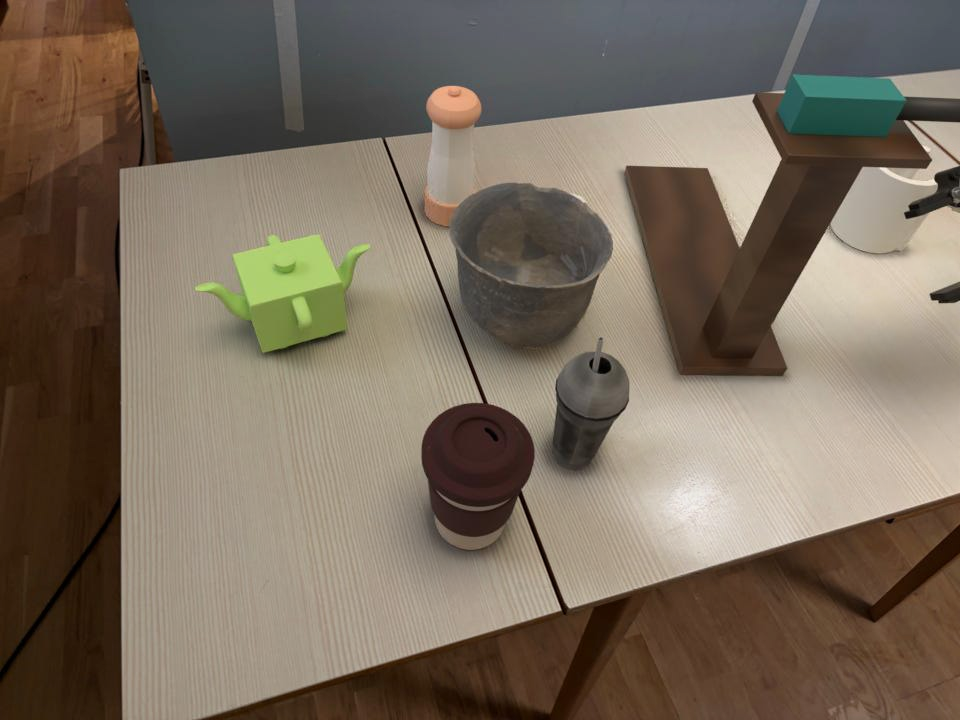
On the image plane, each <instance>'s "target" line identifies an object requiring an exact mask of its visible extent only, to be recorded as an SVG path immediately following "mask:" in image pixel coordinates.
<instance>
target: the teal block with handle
mask: <svg viewBox="0 0 960 720" xmlns="http://www.w3.org/2000/svg"><path fill="white" fill-rule="evenodd" d="M777 113H778V115H779V116H780V118H781V120H782V122H783V124H784V126H785V127H786V129H787V131H788V133H789V134H815V135H843V136H871V137H886V135H887V134H888V132H889V130H890V129H891V127H892V125H893V123H894V122H895V120H904V122H907V121H908V122H933V123H935V122H936V123H959V124H960V98H954V97H953V98H951V97H931V96H930V97H927V96H904V95H903V94H902V92H901V91H900V90H899V88H898V87H897V85H895V83H894V82H893V81H892V79H891V78H890V77H889V78H888V77H887V78H885V77H866V76H865V77H862V76H860V77H859V76H842V75H841V76H840V75H839V76H838V75H815V74H814V75H813V74H795V73H793V74H792V75H791V77H790V79H789V82H788V84H787V85H786V88H785V91H784V95H783V98H782V100H781V102H780V104H779V107H778V109H777Z"/></svg>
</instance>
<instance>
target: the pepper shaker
mask: <svg viewBox="0 0 960 720" xmlns="http://www.w3.org/2000/svg"><path fill="white" fill-rule="evenodd" d="M425 106H426V108H425V110H426V113H427V115H428V117H429V119H430V121H431V122H432V123H431V124H432V127H431V147H430V151H429V157H428V162H427V169H426V172H427V173H426V175H427V176H426V177H427V178H426V180H427V184H426V185H425V188H424V213H425V216H426V217H427V218H428V219H429V220H430V221H431V222H433V223H434V224H436V225H439V226H443V227H449V224H450V220H451V217H452V215H453V212H454V211H455V209H456V208H457V207H458V205H459V204H460V203H462V202H463V201H464V200H465V199H466V198H467V197H469V196H470V195H472V194H476V193H477V190H476V188H475V180H476V163H475V155H474V154H475V152H474V137H475V135H474V133H475V124H477V122H478V120H479V119H480V117H481V114H482V109H483V108H482V104H481V101H480V98H479V97H478V96H477V94H476V93H475V92H474V91H472V90H471V89H469V88H467V87H464V86H459V85H446V86H441V87H438V88H437V89H435V90H434V91H433V92H432V93H431V94H430V96H429V97H428V99H427V101H426V105H425Z"/></svg>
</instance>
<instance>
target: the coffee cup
mask: <svg viewBox="0 0 960 720" xmlns="http://www.w3.org/2000/svg"><path fill="white" fill-rule="evenodd" d="M420 450H421V453H420V454H421V455H420V456H421V466H422V469H423V472H424V475H425V478H426V479H427V484H428V494H429V501H430V505H431V506H430V507H431V509H432V513H433V517H434V523H435V526H436V530H437V531H438V533H439V534H440V536H441V537H442V538H443V539H444V540H445V541H446V542H447V543H448V544H450V545H451V546H454V547H456V548H458V549H462V550H468V551H476V550H480V549H483V548H486V547H489V546H490V545H492V544H493V543H495V541H497V540H498V539H499V538H500V536H501V535H502V534H503V532H504V529H505V528H506V524H507V522H508V521H509V519H510V518H511V516H512V514H513V511H514V509H515V506H516V504H517V501H518V499H519V495H520V493H521V491H522V489H523V488H524V487H525V486H526V484H527V483H528V481H529V479H530V477H531V475H532V471H533V467H534V464H535V457H536V456H535V453H536V450H535V443H534V440H533V438H532V434H531V433H530V431H529V429H528V428H527V427H526V425H525V424H524V423H523V421H521V419H520V418H518V417H517V416H516V415H514V414H513V413H512V412H510V411H508V410H507V409H505V408H503V407H500V406H497V405H494V404H490V403H486V402H485V403H484V402H467V403H462V404H458V405H454V406H452V407H450V408H448V409H446V410H444V411H443V412H441V413H440V414H438V415H437V416H436V417H435V418H434V419H433V420H432V421H431V422H430V424H429V425H428V427H427V428H426V430H425V432H424V435H423V437H422V441H421V449H420Z"/></svg>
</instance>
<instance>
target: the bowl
mask: <svg viewBox="0 0 960 720" xmlns="http://www.w3.org/2000/svg"><path fill="white" fill-rule="evenodd" d="M569 193H570V192H568V191H565V190H562V189H559V188H556V187H540V186H538V185H535V184H533V183H531V182H523V183H520V182H501V183H498V184H495V185H491V186H487V187H485V188H483V189H480V190H478V191H476V194H472V195H470V196H469V197H467V198H466V199H465V200H464V201H463V202H462V203H460V204H459V205H458V207H457V208H456V209H455V211H454V212H453V215H452V217H451V220H450V224H449V226H448V229H449V231H448V232H449V237H450V240H451V242H452V244H453V246H454V249H455V257H456V261H457V262H456V263H457V279H458V280H457V281H458V287H459V295H460V301H461V303H462V305H463V307H464V309H465V312H467V314H468V315H469V317H470V319H471V320H472V321H473V322H474V323H475V324H476V325H477V326H478V327H479V328H480V329H481V330H482V331H484V332H485V333H487V334H488V335H489V336H491V338H493V339H495V340H497V341H500V342H502V343H504V344H507V345H510V346H513V347H518V348H522V349H540V348H546V347H549V346H551V345H554V344H556V343H558V342H560V341H562V340H564V339H566V338H567V337H569V336H570V335H571V334H572V333H573V332H574V330H576V329H577V328H578V326H579V325H580V323H581V321H582V320H583V319H584V317H585V315H586V313H587V310H588V309H589V306H590V304H591V301H592V298H593V295H594V291H595V288H596V286H597V282H598V280H599V277H600V275H601V273H603V271H604V270H605V268H606V266H607V265H608V263H609V261H610V260H611V258H612V255H613V251H614V240H613V235H612V233H611V232H610V230H609V227H608V226H607V225H606V224H605V221H604V220H603V219H602V218H601V217H600V215H599V214H598V213H597V212H596V211H594V210H593V209H592V208H591V207H590V205H589V204H588V203H587V204H588V205H587V204H586V202H587V201H586V202H582V201H581V200H580V199H578V198H577V197H575V196H573V195H571V194H569Z"/></svg>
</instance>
